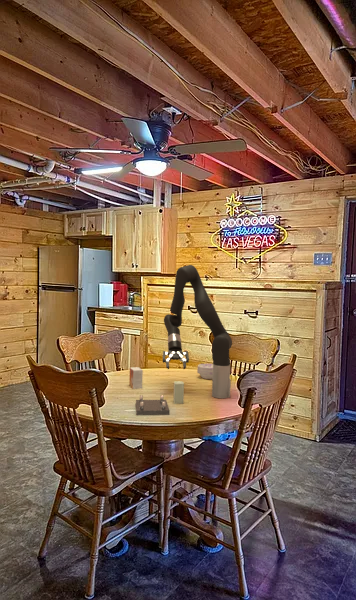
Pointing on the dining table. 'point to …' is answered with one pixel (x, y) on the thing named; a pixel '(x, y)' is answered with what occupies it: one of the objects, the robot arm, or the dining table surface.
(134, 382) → the small box
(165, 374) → the dining table surface
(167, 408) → the pin plate
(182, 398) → the beige tall block
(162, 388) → the dining table surface
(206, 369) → the paper bowls
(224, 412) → the dining table surface
